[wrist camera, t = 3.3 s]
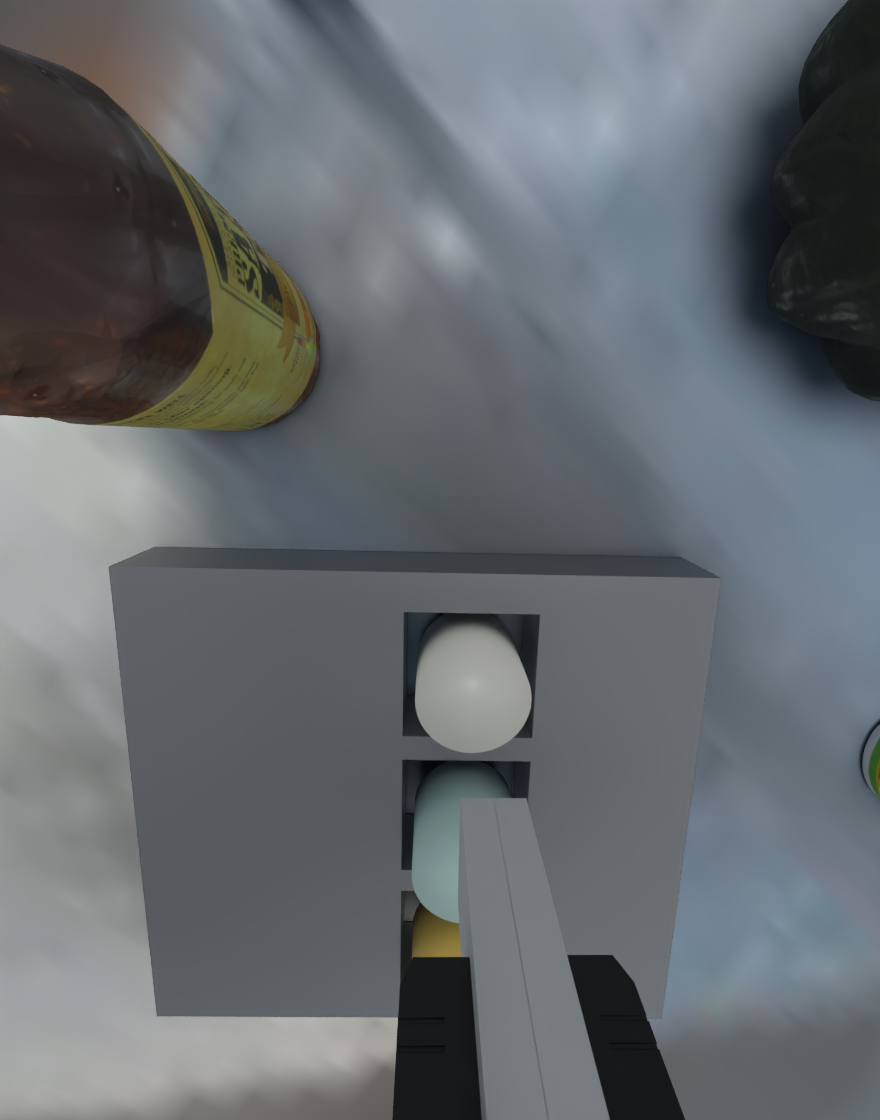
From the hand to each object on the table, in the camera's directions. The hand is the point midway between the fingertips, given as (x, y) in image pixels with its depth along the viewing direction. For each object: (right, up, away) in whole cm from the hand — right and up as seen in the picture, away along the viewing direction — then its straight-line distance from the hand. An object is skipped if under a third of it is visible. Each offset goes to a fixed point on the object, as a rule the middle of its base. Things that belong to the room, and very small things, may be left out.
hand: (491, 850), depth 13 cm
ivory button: (0, +3, +10) cm, 11 cm away
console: (-2, -3, +13) cm, 14 cm away
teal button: (0, -3, +11) cm, 11 cm away
